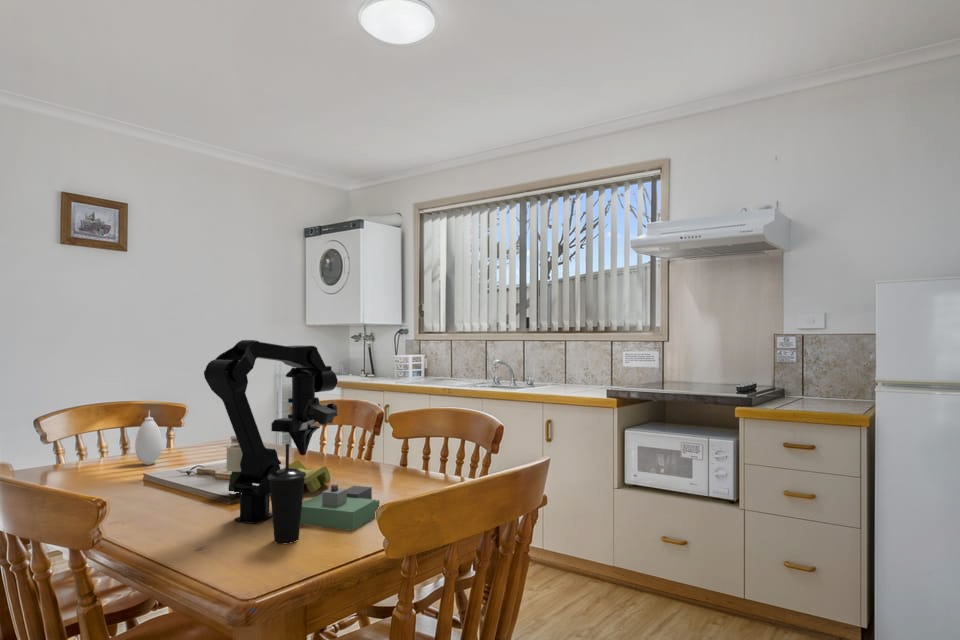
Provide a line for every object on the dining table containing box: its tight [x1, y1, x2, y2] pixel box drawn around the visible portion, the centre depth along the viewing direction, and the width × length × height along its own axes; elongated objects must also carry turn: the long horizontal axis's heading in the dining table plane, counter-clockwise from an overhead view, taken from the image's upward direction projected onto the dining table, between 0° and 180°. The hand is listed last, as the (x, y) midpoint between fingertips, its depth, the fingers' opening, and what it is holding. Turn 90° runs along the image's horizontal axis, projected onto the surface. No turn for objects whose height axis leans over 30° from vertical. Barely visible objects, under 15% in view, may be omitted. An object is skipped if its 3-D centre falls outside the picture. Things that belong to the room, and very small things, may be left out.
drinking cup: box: [268, 443, 306, 544], centre depth 128 cm, size 8×8×20 cm
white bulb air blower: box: [134, 409, 163, 466], centre depth 201 cm, size 8×8×18 cm
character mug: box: [226, 443, 254, 491], centre depth 164 cm, size 11×7×13 cm, turn 42°
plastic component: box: [281, 459, 331, 493], centre depth 172 cm, size 20×7×10 cm
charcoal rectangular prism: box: [346, 485, 373, 499], centre depth 150 cm, size 7×5×5 cm
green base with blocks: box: [300, 484, 380, 531], centre depth 145 cm, size 17×15×8 cm
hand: (302, 454), depth 157 cm, fingers closed
